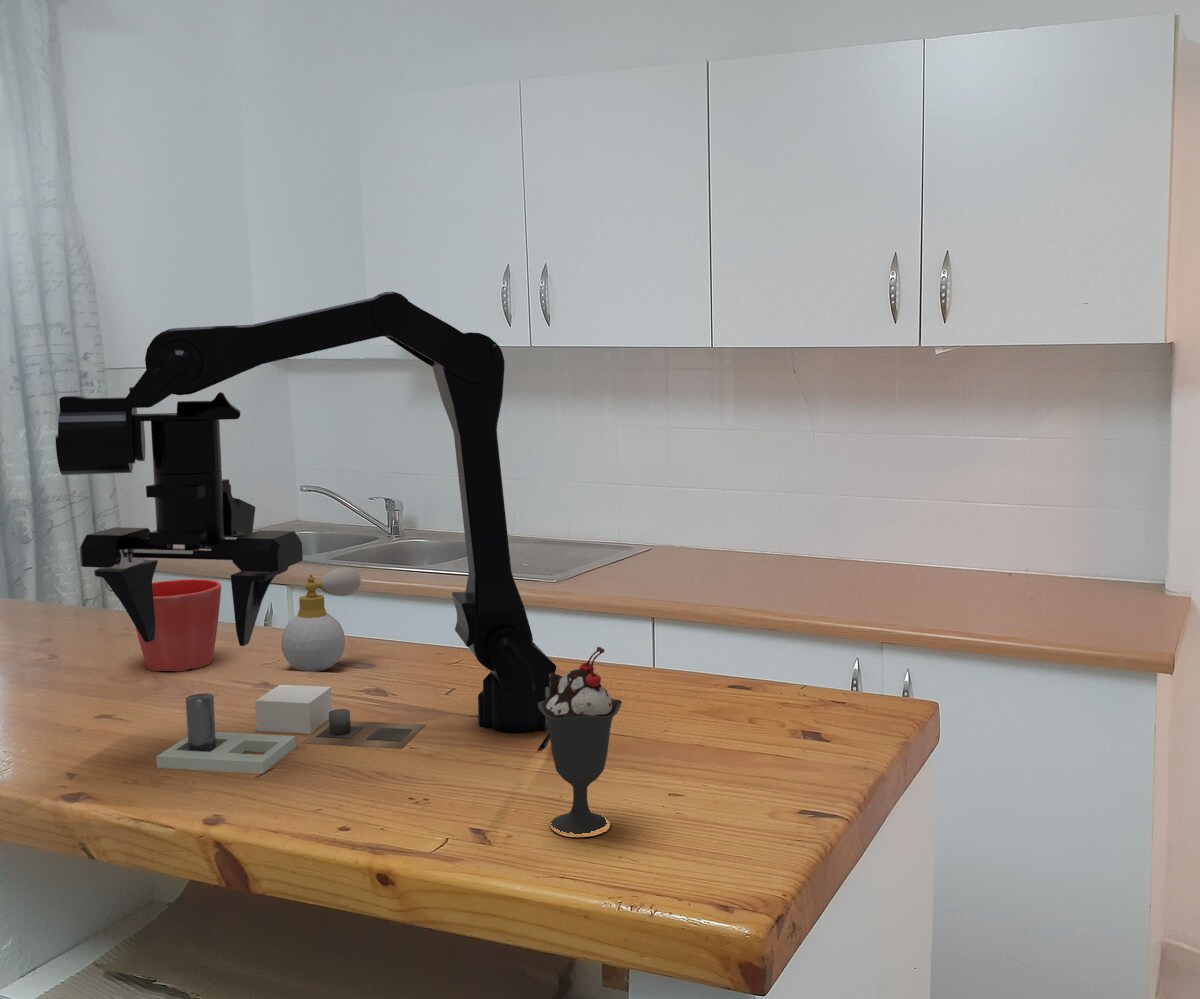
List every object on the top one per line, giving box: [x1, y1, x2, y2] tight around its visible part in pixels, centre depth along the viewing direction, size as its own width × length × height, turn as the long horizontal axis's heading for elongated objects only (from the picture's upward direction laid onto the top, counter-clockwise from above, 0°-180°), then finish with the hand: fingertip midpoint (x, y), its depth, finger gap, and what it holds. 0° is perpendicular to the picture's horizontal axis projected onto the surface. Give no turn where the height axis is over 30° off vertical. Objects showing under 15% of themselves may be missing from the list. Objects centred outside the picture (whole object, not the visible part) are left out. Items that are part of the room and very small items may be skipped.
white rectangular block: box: [254, 684, 333, 735], centre depth 115 cm, size 6×6×4 cm
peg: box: [185, 693, 216, 752], centre depth 106 cm, size 2×2×7 cm
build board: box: [155, 731, 297, 775], centre depth 106 cm, size 10×7×2 cm
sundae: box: [538, 646, 623, 834], centre depth 93 cm, size 7×7×15 cm
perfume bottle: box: [280, 566, 361, 673], centre depth 141 cm, size 8×10×12 cm
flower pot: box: [134, 578, 222, 672], centre depth 143 cm, size 11×11×10 cm
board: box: [300, 708, 427, 750], centre depth 112 cm, size 10×7×4 cm
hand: (196, 643), depth 105 cm, fingers open, 9 cm apart
